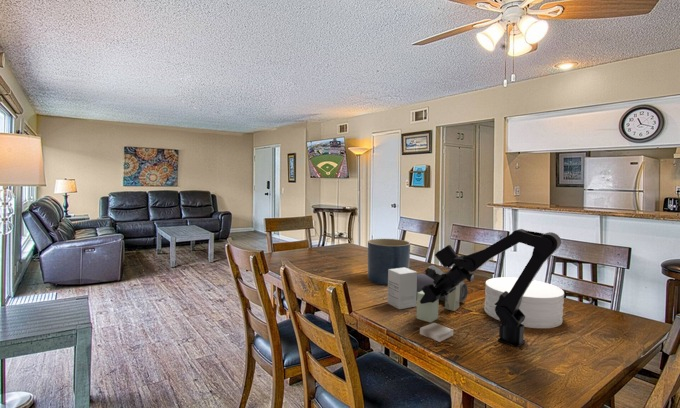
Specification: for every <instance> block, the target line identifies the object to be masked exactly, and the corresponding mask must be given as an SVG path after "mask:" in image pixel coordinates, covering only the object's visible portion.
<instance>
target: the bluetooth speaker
mask: <svg viewBox="0 0 680 408" xmlns="http://www.w3.org/2000/svg"><path fill="white" fill-rule="evenodd" d="M433 281H434V280H433V279H432V278H430V277H428V276H427V275H425V273H417V293H418V292H420V291H422V288H423V287H424V286H425V285H428V284H433V286H435V285H436V284H434V282H433ZM468 291H469V289H468V284H467V283H466V282H464V281H462V282H461V283H460V297H459V303H464V302H465V301H466V300H467V297H468ZM441 300H442V301H443V302H445V296H442V297H440V298H439V301H441Z"/></svg>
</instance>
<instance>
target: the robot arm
mask: <svg viewBox="0 0 680 408" xmlns="http://www.w3.org/2000/svg"><path fill="white" fill-rule="evenodd" d="M519 243H521V244H524V245H526V246H529V247H531V248H533V249H532V254H531V257H530V258H529V261H528V262H527V263H526V265H525V267H524V269H523V270H522V272H521V273H520V275H519V276H518V277H517V278H518V280H517V281H516V283H515V284H514V286H513V288H512V289H511V291H510V292H509V293H508V292H507V291H505V292H504V293H502V294H501V295H500V297H499V300H498V302H496V303H495V305H496V307H495V312H496V314H497V316H498V317H499V319H500V320H499V322H500V324H499V328H498V337H499V338H497V341H498V342H501V343H504V344H507V345H510V346H512V347H515V348H518V347H520V346H521V345H523V344H525V343H526V340H525V339H524V332H525V330H524V329H525V327H524V325H523V324H521V323H522V322H523V321H524V319H525V315H524V314H523V313H522V312H521V311H520V309H519V307H520V304H521V301H522V297H523V295H524V293H525V292H526V290H527V289H528V287H529V285H530V284H531V282H532V281H533V280H535V278H536V276H537V274H538V273H539V272H540V270H541V269H542V267H543V265H544V264H545V262H546V261H547V260H548V259H549V258H550V257H551V256H552V255H553V254H554V253H556V251H557V250H558V249H559V248H560V247H561V245H562V239H561V237H560V236H559V234H557V233H555V232H545V233H542V232H539V231H532V230H526V229H523V228H519V229H515V230H514V231H512V232H511V233H510V234H508V235H507V236H505V237H503V238H502V239H500V240H498V241H496V242H494V243H493V244H491V245H489V246H488V247H486V248H484V249H481V250H478V251H475V252H473V253H470V254H468V255H458V253H456V251H455V250H454V249H453V247H452V246H451V244H449V245H448V244H447V245H446V246H445V247H442V249H440V250H438V251H436V253H434V256H435V257H436V259H437V260H438V262H439V263H440V264H441V265H442V267H443V268H445V269H446V268H448V269H449V270H448V271H446V272H444V271H443V270H442V269H440V268H439V267H437V266H435V265H434V264H433V265H429V266H427V268H426V269H425V270H424V274H425V275H427V276H428V277H430V278H432V279H433V280H434V281H433V282H434V284H436V285H435V286H433V284H428V285H425V286H424V287H423V288H422V291H423V292H424V296H423V297H422V299H421V300H420V303H421V304H424V303H429V302H432V303H433V302H435V301H437V300H438V299H439V298H440V297H442V296H446V295H448V294H449V293H451V292H453V291H454V290H455V289H456V286H458V285H459V284H460V283H461V282H464V281H465V280H467V281H468V282H469V283H471V282H473V281H474V280H475V277H474V275H475V273H474V272H475V271H478V270H479V269H481V268H482V267H484V266H485V265H486V264H487V263H488V262H490V261H491V259H493V258H494V257H496V256H498V255H499V254H501V253H503V252H505V251H507V250H508V249H510V248H512V247H514V246H515V245H517V244H519ZM448 292H449V293H448Z"/></svg>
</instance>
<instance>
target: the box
mask: <svg viewBox="0 0 680 408" xmlns="http://www.w3.org/2000/svg"><path fill="white" fill-rule="evenodd" d="M448 293H449V292H448ZM459 297H460V284H459V285H458V286H456V289H455V290H454V291H453V292H451V293H449V294H448V295H446V296H445V301H444V309H445V310H448V311H449V310H450V311H451V312H452V311H453V312H455V311H457V310H458V309H459V308H460V302H459Z"/></svg>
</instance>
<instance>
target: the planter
mask: <svg viewBox="0 0 680 408" xmlns="http://www.w3.org/2000/svg"><path fill="white" fill-rule="evenodd" d="M410 257H411V242H410V241H407V240H403V239H396V238H373V239H369V240H367V280H368V281H369V282H371V283H373V284H377V285H381V286H388V269H396V268H404V267H405V268H408V269H410V261H411V260H410Z"/></svg>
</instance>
